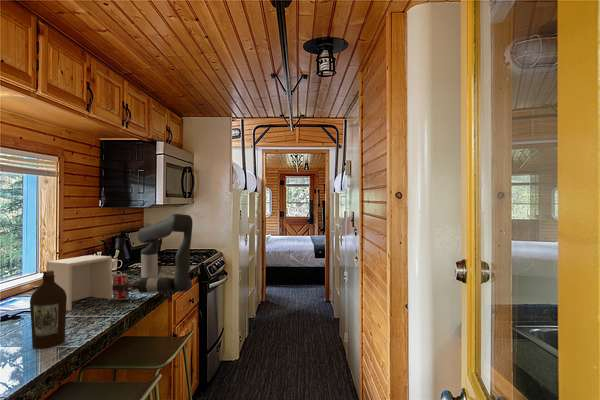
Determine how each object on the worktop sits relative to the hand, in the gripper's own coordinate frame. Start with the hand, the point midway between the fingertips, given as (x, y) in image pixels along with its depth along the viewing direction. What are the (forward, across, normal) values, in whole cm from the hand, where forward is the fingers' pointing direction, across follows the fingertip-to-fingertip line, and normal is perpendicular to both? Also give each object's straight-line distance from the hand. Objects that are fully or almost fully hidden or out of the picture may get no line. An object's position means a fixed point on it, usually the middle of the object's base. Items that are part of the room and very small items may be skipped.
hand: (116, 285), depth 184 cm
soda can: (-2, 0, +7) cm, 7 cm away
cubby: (+16, +3, +7) cm, 18 cm away
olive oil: (-2, +55, +8) cm, 56 cm away
